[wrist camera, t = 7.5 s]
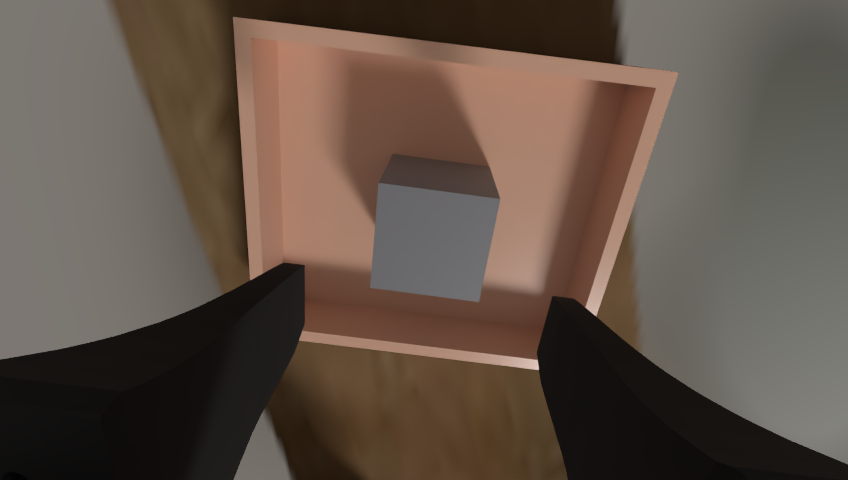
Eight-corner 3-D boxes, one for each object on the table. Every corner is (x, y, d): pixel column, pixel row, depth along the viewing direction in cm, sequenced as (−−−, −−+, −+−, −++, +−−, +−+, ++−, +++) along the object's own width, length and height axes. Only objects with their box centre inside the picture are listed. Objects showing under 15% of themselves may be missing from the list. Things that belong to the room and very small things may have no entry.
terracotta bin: (561, 336, 24) (576, 374, 21) (275, 301, 24) (253, 334, 21) (644, 67, 18) (678, 72, 15) (265, 20, 18) (232, 16, 15)
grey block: (473, 253, 22) (478, 302, 18) (384, 241, 22) (369, 287, 18) (489, 166, 20) (500, 199, 16) (392, 153, 20) (378, 182, 16)
